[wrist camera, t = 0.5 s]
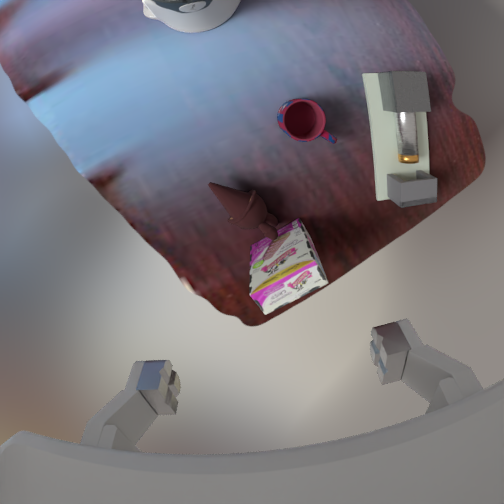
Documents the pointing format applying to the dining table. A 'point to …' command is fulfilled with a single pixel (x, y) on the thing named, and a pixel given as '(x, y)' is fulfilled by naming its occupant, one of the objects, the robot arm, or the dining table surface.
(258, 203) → the icecream
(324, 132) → the mug
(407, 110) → the dark grey cube cap
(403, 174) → the board
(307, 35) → the dining table surface
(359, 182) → the dining table surface
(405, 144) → the tube
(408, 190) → the socket
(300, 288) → the candy bar box
